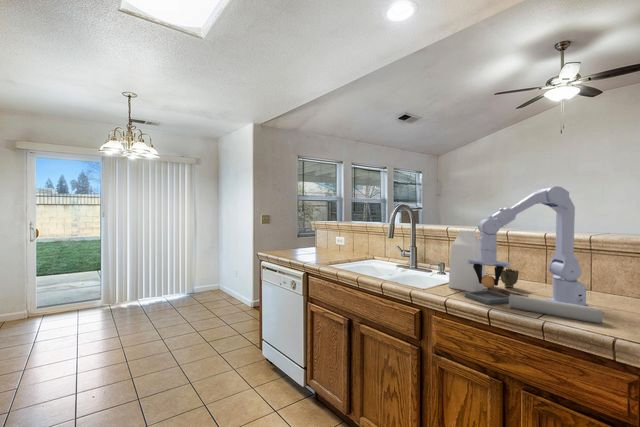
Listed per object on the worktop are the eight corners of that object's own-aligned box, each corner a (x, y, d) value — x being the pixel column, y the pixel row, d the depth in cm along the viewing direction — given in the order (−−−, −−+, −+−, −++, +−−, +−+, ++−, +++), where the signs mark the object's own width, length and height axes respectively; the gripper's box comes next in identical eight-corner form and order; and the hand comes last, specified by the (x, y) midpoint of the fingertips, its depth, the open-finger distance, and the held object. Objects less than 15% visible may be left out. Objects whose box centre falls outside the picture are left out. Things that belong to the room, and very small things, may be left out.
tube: (603, 308, 98) (512, 294, 115) (604, 307, 95) (509, 292, 111) (603, 326, 97) (511, 309, 114) (604, 325, 93) (508, 307, 110)
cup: (513, 285, 144) (513, 268, 144) (522, 289, 137) (522, 271, 137) (496, 285, 145) (496, 268, 145) (504, 289, 138) (504, 271, 138)
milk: (448, 287, 142) (448, 230, 142) (459, 283, 150) (459, 229, 150) (475, 292, 133) (475, 231, 133) (486, 287, 141) (486, 230, 141)
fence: (528, 303, 117) (528, 295, 117) (525, 303, 116) (525, 295, 116) (489, 291, 134) (489, 284, 134) (487, 292, 133) (487, 285, 133)
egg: (497, 287, 122) (497, 275, 122) (493, 289, 119) (493, 276, 119) (483, 285, 126) (483, 273, 126) (479, 287, 122) (479, 274, 122)
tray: (513, 302, 118) (513, 297, 118) (488, 305, 115) (488, 300, 115) (488, 294, 130) (488, 290, 130) (464, 296, 126) (464, 292, 126)
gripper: (511, 250, 121) (511, 284, 121) (471, 247, 130) (471, 279, 130) (508, 251, 115) (508, 288, 115) (466, 249, 124) (466, 282, 125)
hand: (488, 284), depth 122 cm, fingers closed on egg, 5 cm apart
